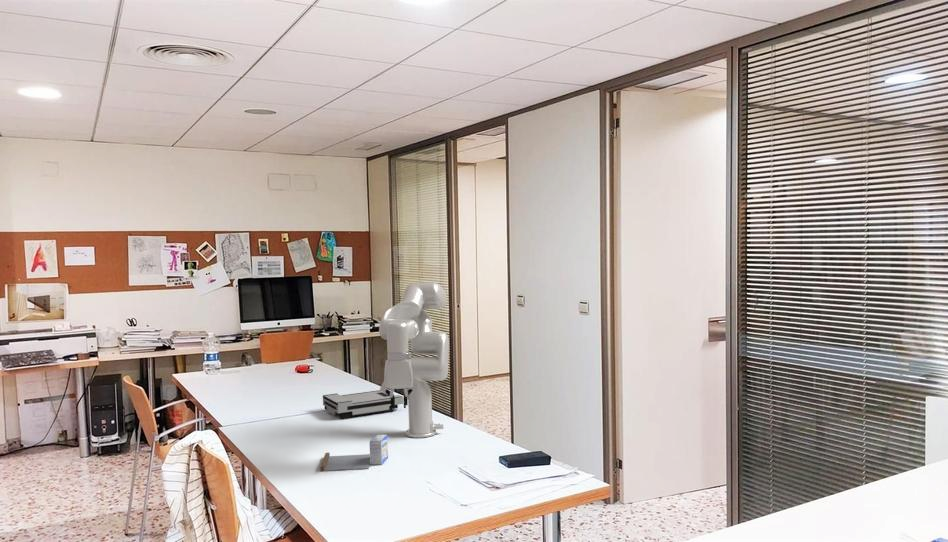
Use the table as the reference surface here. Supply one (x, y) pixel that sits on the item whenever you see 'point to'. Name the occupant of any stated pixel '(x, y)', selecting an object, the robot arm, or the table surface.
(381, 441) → the medicine box
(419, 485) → the table surface
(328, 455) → the walnut stop strip
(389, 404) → the game console
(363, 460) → the slate mat
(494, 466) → the table surface
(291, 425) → the table surface
